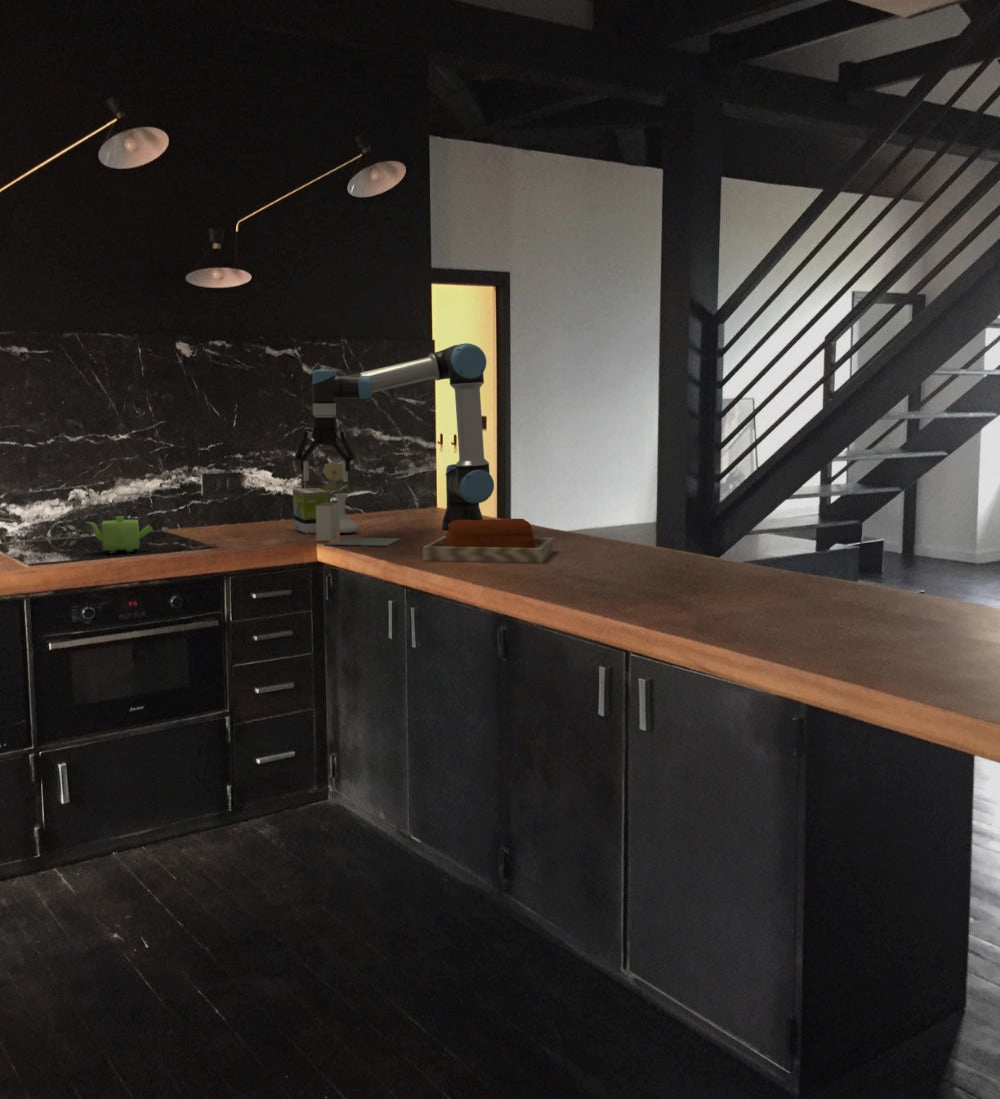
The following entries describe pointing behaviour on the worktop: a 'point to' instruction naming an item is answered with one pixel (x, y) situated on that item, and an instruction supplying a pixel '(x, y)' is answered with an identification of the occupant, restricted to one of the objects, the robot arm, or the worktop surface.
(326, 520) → the block
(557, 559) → the worktop surface
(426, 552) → the wooden tray
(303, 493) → the tea box
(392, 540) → the mat
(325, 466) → the flower in vase
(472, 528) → the bread
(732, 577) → the worktop surface
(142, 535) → the kettle
